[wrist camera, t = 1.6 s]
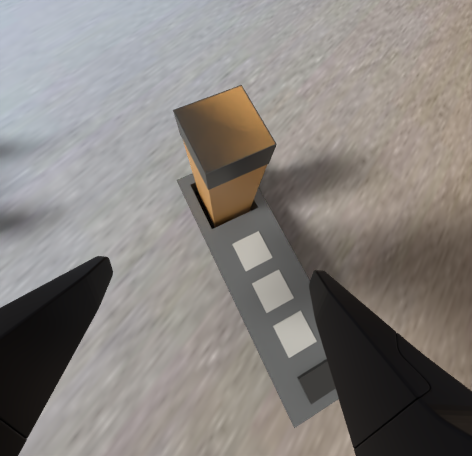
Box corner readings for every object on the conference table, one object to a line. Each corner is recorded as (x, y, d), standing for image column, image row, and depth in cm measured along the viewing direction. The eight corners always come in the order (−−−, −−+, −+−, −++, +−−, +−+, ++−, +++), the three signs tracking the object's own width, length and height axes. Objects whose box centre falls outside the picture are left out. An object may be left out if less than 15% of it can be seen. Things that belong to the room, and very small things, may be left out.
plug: (248, 214, 24) (276, 144, 11) (215, 229, 23) (205, 174, 11) (232, 183, 25) (241, 84, 12) (199, 197, 24) (172, 110, 11)
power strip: (345, 366, 21) (368, 383, 18) (284, 405, 20) (295, 431, 17) (237, 167, 25) (240, 151, 22) (182, 191, 24) (175, 178, 21)
